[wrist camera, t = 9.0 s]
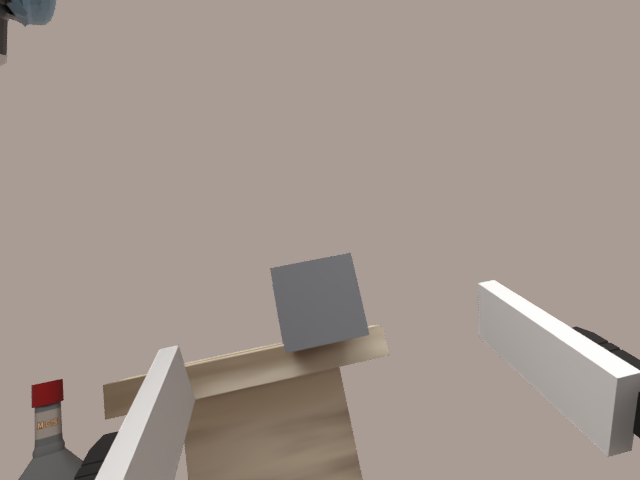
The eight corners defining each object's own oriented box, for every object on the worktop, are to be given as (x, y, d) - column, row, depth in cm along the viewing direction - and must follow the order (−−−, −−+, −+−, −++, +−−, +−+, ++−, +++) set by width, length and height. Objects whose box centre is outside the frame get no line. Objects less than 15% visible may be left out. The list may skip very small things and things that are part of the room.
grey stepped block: (385, 331, 15) (358, 220, 16) (268, 357, 15) (248, 240, 16) (335, 330, 35) (325, 280, 36) (285, 341, 34) (276, 290, 36)
